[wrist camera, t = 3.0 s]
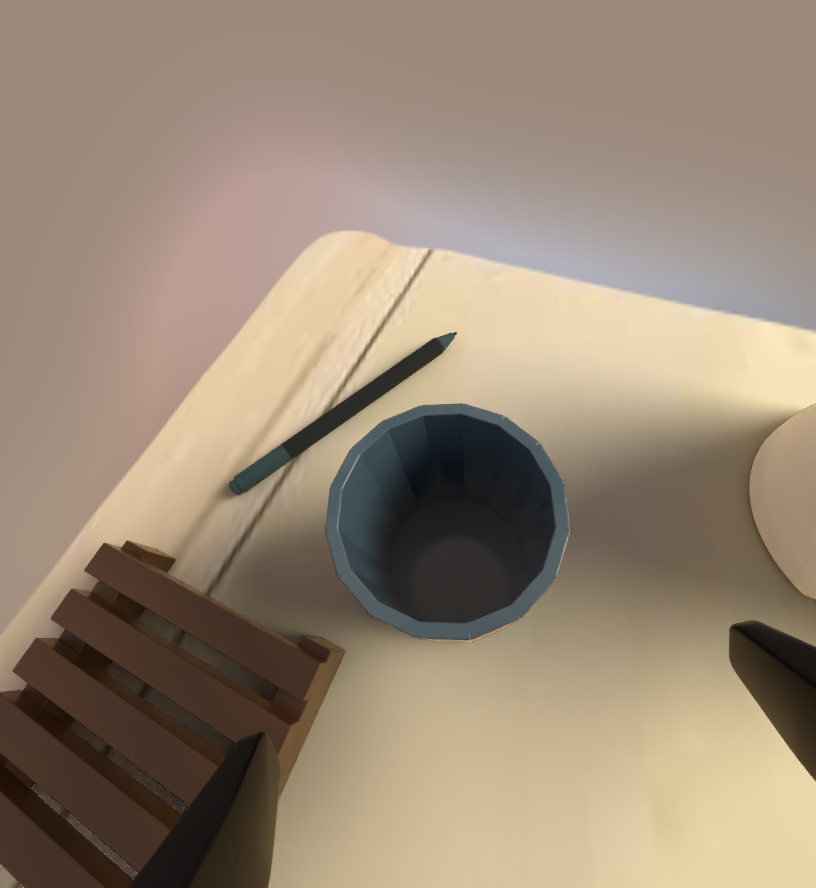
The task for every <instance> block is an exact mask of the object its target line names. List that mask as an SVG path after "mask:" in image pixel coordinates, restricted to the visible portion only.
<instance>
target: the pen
mask: <svg viewBox="0 0 816 888" xmlns="http://www.w3.org/2000/svg"><path fill="white" fill-rule="evenodd" d="M456 334H457V332H454V333H449V334H446V335H443V336H440V337H437V338H434V339H432V340H431V341H429V342H428V343H426V344H425V345H423V346H422V347H420V348H419V349H418V350H416V351H415V352H413V353H412V354H410V355H409V356H408V357H406V358H405V359H403V360H402V361H400V362H399V363H397V364H396V365H395V366H393V367H392V368H390V369H389V370H387V371H386V372H385V373H383V374H382V375H380V376H379V377H377V378H376V379H374V380H373V381H372V382H370V383H369V384H367V385H366V386H364V387H363V388H362V389H360V390H359V391H357V392H356V393H354V394H353V395H351V396H350V397H349V398H347V399H346V400H344V401H343V402H341V403H340V404H339V405H337V406H336V407H334V408H333V409H331V410H330V411H328V412H327V413H326V414H324V415H323V416H321V417H320V418H318V419H317V420H316V421H314V422H313V423H311V424H310V425H308V426H307V427H305V428H304V429H303V430H301V431H300V432H298V433H297V434H295V435H294V436H293V437H291V438H290V439H288V440H287V441H285V442H284V443H282V444H281V445H280V446H278V447H277V448H275V449H274V450H272V451H271V452H270V453H268V454H267V455H265V456H264V457H262V458H261V459H259V460H258V461H257V462H255V463H254V464H252V465H251V466H249V467H248V468H247V469H245V470H244V471H242V472H241V473H239V474H238V475H236V476H235V477H234V480H232V481H231V482H229V486H230V488H231V490H232V491H233V492H234V493H235V494H237V495H239V494H241V493H242V492H243V491H245V492H246V491H248V490H249V489H250V488H252V487H253V486H255V485H256V484H258V483H259V482H260V481H262V480H263V479H265V478H266V477H267V476H269V475H270V474H272V473H273V472H275V471H276V470H277V469H279V468H280V467H282V466H283V465H284V464H286V463H287V462H289V461H290V460H292V459H293V458H294V457H296V456H297V455H299V454H300V453H301V452H303V451H304V450H306V449H307V448H309V447H310V446H311V445H313V444H314V443H316V442H317V441H318V440H320V439H321V438H323V437H324V436H326V435H327V434H328V433H330V432H331V431H333V430H334V429H335V428H337V427H338V426H340V425H341V424H343V423H344V422H345V421H347V420H348V419H350V418H351V417H352V416H354V415H355V414H357V413H358V412H360V411H361V410H362V409H364V408H365V407H367V406H368V405H369V404H371V403H372V402H374V401H375V400H377V399H378V398H379V397H381V396H382V395H384V394H385V393H386V392H388V391H389V390H391V389H392V388H394V387H395V386H396V385H398V384H399V383H401V382H402V381H403V380H405V379H406V378H408V377H409V376H411V375H412V374H413V373H415V372H416V371H418V370H419V369H420V368H422V367H423V366H425V365H426V364H428V363H429V362H430V361H432V360H433V359H435V358H436V357H437V356H439V355H440V354H442V353H443V351H444V350H445V349H446V348H447V347H448V345H449V344H450V343H451V342H452V340H453V339H454V338H455V335H456Z"/></svg>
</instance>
